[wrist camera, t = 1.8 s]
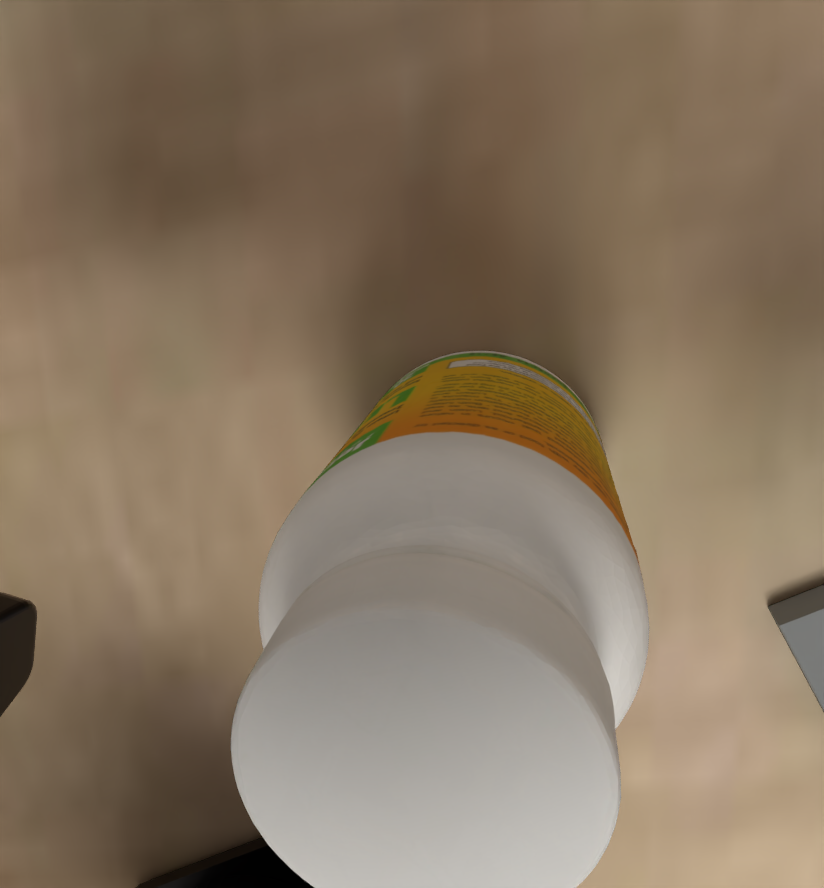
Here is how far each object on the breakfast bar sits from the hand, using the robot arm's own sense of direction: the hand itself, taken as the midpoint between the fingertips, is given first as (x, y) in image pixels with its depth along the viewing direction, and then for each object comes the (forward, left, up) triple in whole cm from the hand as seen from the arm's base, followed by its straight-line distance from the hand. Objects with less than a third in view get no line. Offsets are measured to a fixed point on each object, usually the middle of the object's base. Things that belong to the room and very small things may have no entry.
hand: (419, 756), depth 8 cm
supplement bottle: (0, 0, -9) cm, 9 cm away
